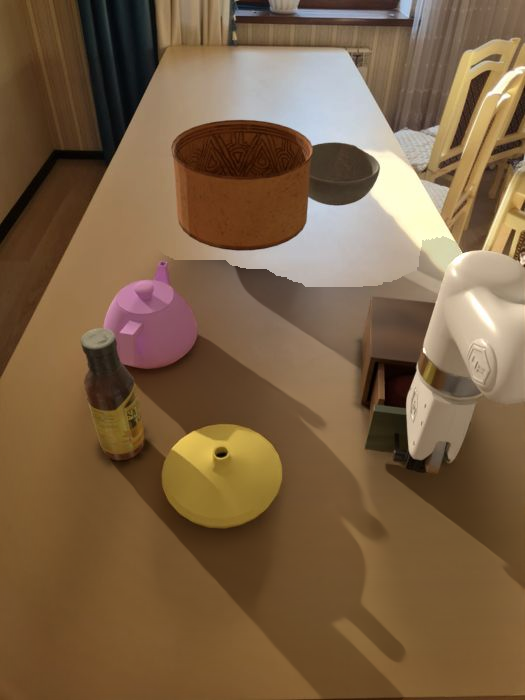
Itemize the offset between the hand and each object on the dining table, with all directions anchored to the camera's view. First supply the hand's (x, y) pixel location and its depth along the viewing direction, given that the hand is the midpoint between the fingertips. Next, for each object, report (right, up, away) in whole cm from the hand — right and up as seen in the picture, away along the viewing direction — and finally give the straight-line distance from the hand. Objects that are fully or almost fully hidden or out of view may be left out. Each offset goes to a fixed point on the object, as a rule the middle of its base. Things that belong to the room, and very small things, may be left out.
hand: (417, 466), depth 69 cm
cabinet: (+3, +11, +19) cm, 22 cm away
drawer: (+1, +3, +10) cm, 11 cm away
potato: (+1, +6, +11) cm, 13 cm away
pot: (-24, +40, +51) cm, 69 cm away
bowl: (-3, +52, +64) cm, 82 cm away
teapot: (-39, +16, +24) cm, 48 cm away
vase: (-25, -3, +4) cm, 26 cm away
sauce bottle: (-40, +1, +8) cm, 40 cm away
